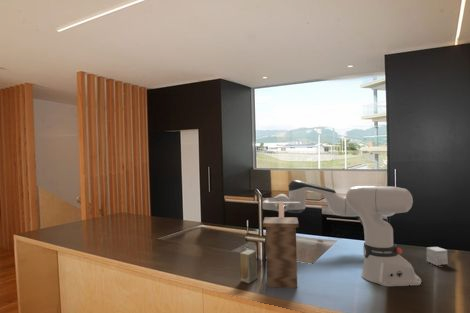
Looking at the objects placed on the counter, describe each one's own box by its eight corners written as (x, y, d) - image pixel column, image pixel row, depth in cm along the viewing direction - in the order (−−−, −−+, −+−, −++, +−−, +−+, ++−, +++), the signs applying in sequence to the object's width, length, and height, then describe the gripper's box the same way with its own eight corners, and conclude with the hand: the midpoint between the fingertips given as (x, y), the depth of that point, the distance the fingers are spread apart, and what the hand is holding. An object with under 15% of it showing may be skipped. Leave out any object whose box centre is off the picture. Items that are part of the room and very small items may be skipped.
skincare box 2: (436, 267, 143) (436, 251, 143) (426, 262, 149) (426, 247, 149) (448, 266, 144) (447, 250, 144) (437, 261, 150) (437, 246, 150)
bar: (283, 204, 164) (283, 201, 163) (284, 232, 146) (284, 228, 145) (279, 204, 164) (278, 201, 163) (278, 232, 146) (278, 228, 145)
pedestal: (298, 277, 135) (297, 217, 135) (299, 289, 123) (298, 223, 123) (266, 276, 137) (264, 217, 137) (264, 287, 125) (262, 223, 125)
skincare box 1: (249, 276, 137) (248, 248, 137) (257, 278, 135) (256, 250, 135) (240, 281, 132) (239, 252, 132) (248, 283, 130) (247, 254, 130)
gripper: (300, 209, 172) (302, 213, 158) (263, 209, 175) (261, 213, 161) (300, 197, 172) (301, 201, 158) (263, 198, 175) (261, 201, 161)
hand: (281, 207), depth 160 cm, fingers closed on bar, 2 cm apart
